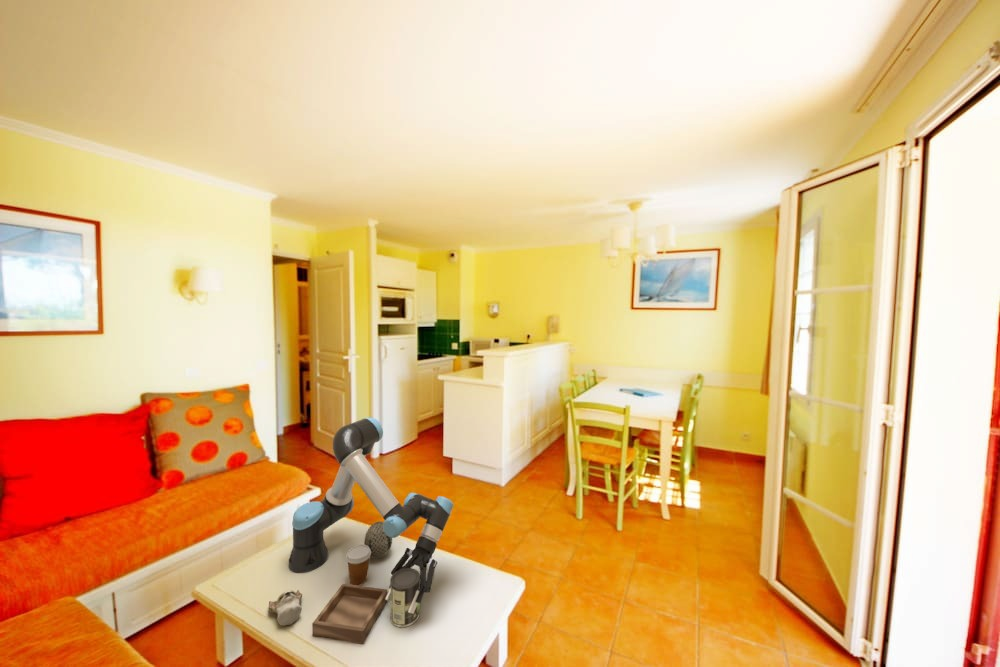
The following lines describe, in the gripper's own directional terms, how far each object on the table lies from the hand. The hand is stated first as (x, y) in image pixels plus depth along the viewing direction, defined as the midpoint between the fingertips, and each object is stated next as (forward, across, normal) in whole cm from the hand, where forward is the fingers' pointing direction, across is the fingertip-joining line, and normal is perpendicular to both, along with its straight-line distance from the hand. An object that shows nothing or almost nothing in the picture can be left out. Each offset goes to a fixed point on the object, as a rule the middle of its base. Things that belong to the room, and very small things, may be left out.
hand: (399, 606), depth 128 cm
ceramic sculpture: (+17, +36, +8) cm, 41 cm away
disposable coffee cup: (0, +28, -8) cm, 29 cm away
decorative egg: (-10, +32, -19) cm, 39 cm away
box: (+9, +15, +1) cm, 18 cm away
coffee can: (+2, 0, -6) cm, 6 cm away
